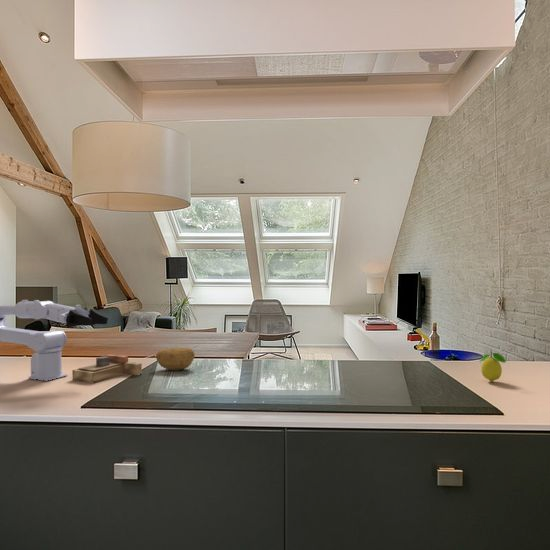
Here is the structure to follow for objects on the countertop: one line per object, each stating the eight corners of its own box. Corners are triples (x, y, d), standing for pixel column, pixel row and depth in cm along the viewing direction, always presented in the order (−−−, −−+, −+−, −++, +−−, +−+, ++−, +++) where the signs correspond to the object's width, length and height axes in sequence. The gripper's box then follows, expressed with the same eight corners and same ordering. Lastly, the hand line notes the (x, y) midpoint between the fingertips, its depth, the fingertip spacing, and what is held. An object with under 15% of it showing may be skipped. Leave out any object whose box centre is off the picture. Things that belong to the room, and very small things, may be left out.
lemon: (506, 385, 122) (506, 351, 122) (485, 384, 124) (484, 351, 124) (499, 379, 129) (498, 347, 129) (478, 378, 130) (478, 347, 130)
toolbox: (72, 379, 135) (72, 368, 135) (111, 369, 149) (111, 359, 149) (106, 384, 128) (106, 372, 128) (143, 373, 143) (143, 362, 143)
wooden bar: (105, 360, 147) (105, 355, 147) (109, 359, 148) (109, 354, 148) (124, 362, 143) (124, 357, 143) (128, 361, 144) (128, 356, 144)
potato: (163, 366, 154) (162, 345, 154) (198, 367, 152) (198, 345, 152) (150, 372, 144) (150, 349, 144) (188, 373, 142) (188, 350, 142)
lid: (78, 370, 136) (78, 360, 136) (110, 362, 148) (110, 353, 148) (94, 372, 132) (94, 362, 132) (126, 364, 145) (125, 354, 145)
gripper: (49, 302, 130) (85, 309, 126) (82, 302, 144) (115, 308, 140) (45, 324, 130) (81, 332, 126) (79, 322, 144) (111, 329, 140)
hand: (99, 321), depth 133 cm, fingers open, 7 cm apart
